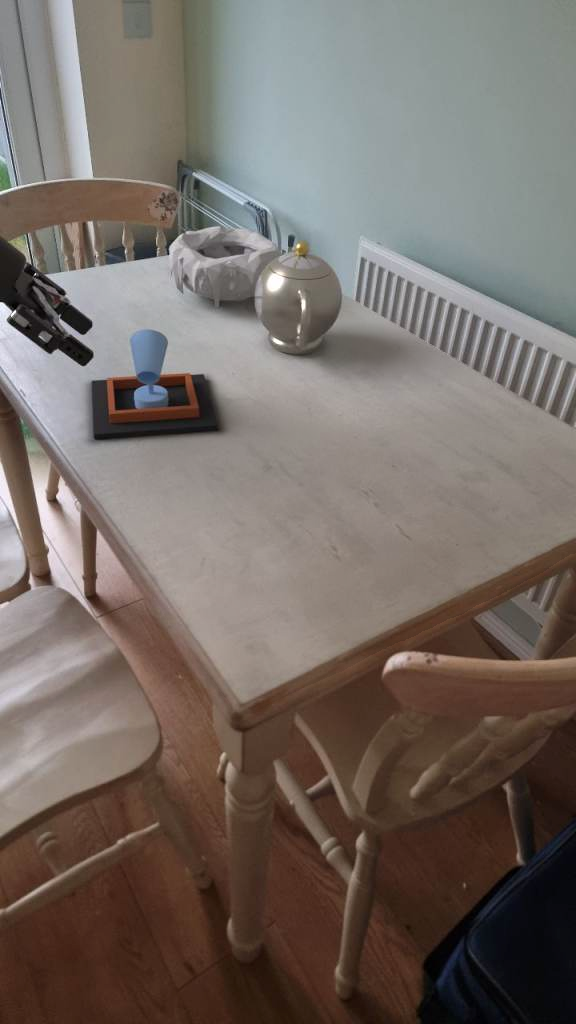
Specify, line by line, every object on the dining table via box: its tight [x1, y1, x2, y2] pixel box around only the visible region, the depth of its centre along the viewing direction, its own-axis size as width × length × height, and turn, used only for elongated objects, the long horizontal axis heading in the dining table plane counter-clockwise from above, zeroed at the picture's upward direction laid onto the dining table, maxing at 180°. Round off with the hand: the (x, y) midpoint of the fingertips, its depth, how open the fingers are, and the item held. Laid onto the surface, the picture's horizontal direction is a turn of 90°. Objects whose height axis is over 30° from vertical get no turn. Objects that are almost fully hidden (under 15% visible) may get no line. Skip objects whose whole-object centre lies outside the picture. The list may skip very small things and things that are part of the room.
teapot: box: [254, 241, 343, 355], centre depth 107 cm, size 18×14×16 cm
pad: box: [91, 372, 219, 440], centre depth 95 cm, size 16×14×2 cm
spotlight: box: [129, 329, 169, 409], centre depth 92 cm, size 5×10×7 cm
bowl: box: [168, 225, 283, 309], centre depth 123 cm, size 21×20×10 cm
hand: (89, 344), depth 88 cm, fingers open, 8 cm apart
